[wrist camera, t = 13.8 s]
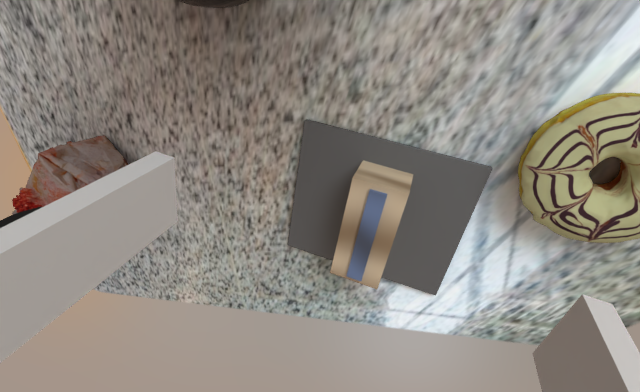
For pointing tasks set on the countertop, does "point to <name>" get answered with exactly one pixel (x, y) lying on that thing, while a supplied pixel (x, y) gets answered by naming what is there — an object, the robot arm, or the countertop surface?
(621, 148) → the decorated donut
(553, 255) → the countertop surface
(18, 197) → the food item
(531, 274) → the countertop surface
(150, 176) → the robot arm
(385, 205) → the card box
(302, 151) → the mat
